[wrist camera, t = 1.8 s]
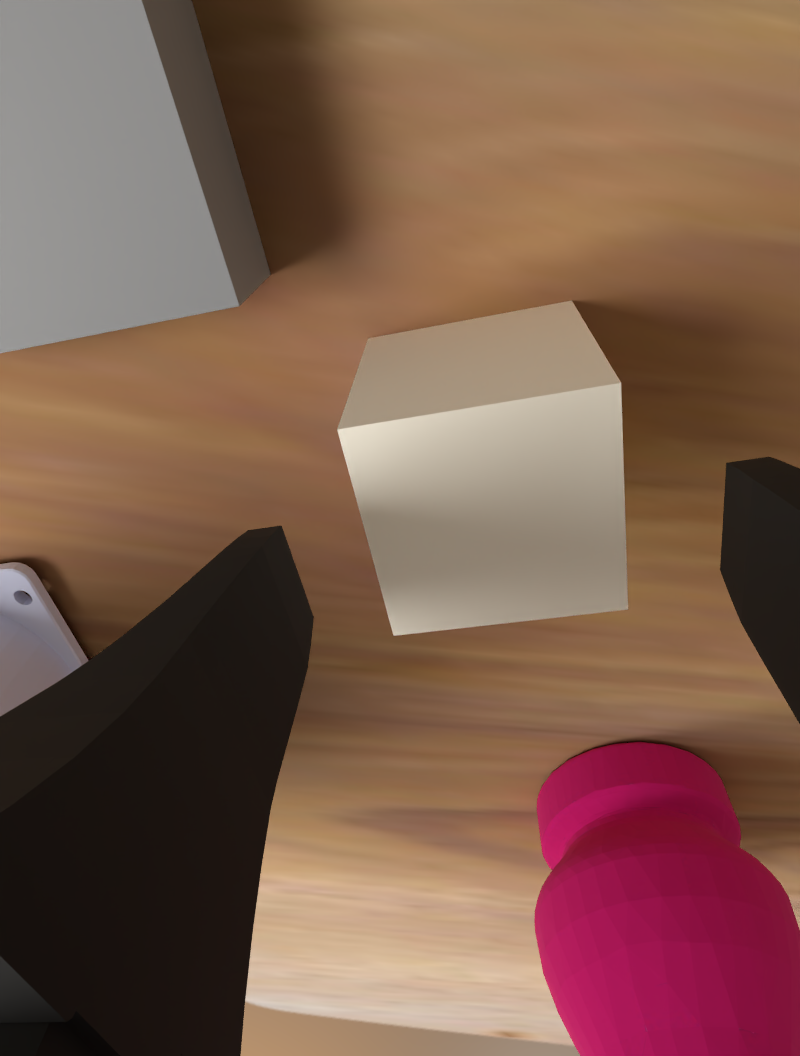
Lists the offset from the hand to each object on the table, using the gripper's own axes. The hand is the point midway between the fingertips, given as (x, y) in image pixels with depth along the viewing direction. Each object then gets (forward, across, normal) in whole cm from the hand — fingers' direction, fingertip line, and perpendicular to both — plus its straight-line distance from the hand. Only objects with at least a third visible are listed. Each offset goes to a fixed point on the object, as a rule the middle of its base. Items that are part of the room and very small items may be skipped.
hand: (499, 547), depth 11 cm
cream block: (+6, 0, 0) cm, 6 cm away
